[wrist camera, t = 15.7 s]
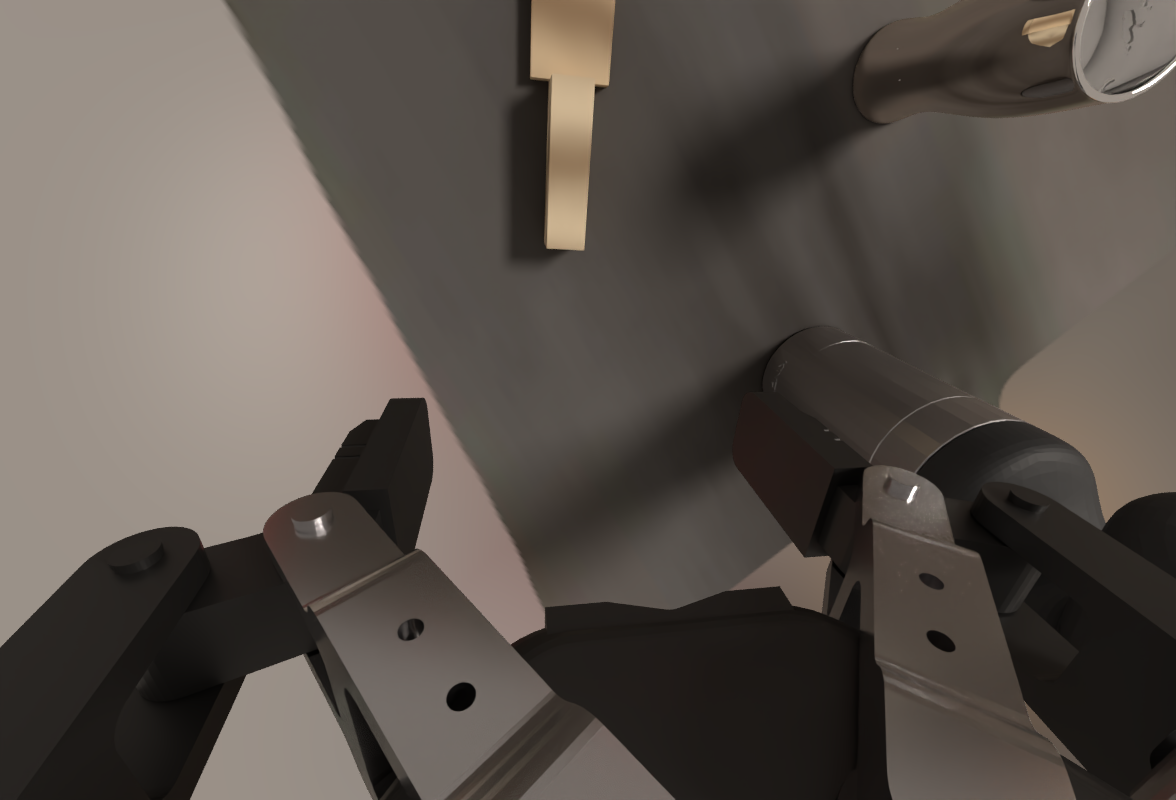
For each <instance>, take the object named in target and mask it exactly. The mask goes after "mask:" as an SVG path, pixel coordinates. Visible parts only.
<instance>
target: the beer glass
mask: <svg viewBox="0 0 1176 800" xmlns="http://www.w3.org/2000/svg"><path fill="white" fill-rule="evenodd" d="M1175 67H1176V0H960V1H958V2H957V3H955V4H953V5H952V6H950V7H948V8H946V9H945V10H943V11H941V12H939V13H936V14H934V15H931V16H926V17H915V18H906V19H901V20H897V21H894V22H892V23H890V24H888V25H886V26H885V27H883V28H882V29H881V30H879V31H878V32H877V33H876V34H875V35H874V36H873V37H872V38H871V39H870V41H869V42H868V43H867V45H866V46H865V48H864V49H863V51H862V53H861V55H860V57H859V59H858V62H857V65H856V68H855V72H854V78H853V95H854V100H855V103H856V106H857V108H858V109H859V111H860V113H861V114H862V115H863V116H864V117H865V118H866V119H868V120H870V121H872V122H875V123H880V124H886V123H892V122H896V121H899V120H901V119H904V118H907V117H909V116H912V115H914V114H917V113H922V112H937V113H946V114H953V115H961V116H969V117H981V118H1014V117H1028V116H1036V115H1043V114H1051V113H1057V112H1063V111H1068V110H1074V109H1079V108H1084V107H1089V106H1094V105H1100V104H1106V103H1117V102H1122V101H1125V100H1129V99H1131V98H1134V97H1136V96H1138V95H1140V94H1142V93H1144V92H1145V91H1147V90H1149V89H1150V88H1151V87H1153V86H1154V85H1156V84H1157V83H1158V82H1160V81H1161V80H1162V79H1163V78H1164V77H1166V76H1167V75H1168V74H1169V73H1170V72H1171V71H1172V70H1173V69H1174V68H1175Z"/></svg>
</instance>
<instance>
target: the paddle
mask: <svg viewBox="0 0 1176 800" xmlns="http://www.w3.org/2000/svg"><path fill="white" fill-rule="evenodd" d="M614 9H615V0H531V49H530V79H532V80H541V81H549V89H548V124H547V159H546V194H545V229H544V243H545V246H546V248H547V249H567V250H584V245H585V230H586V214H587V199H588V183H589V168H590V153H591V137H592V122H593V107H594V91H595V86H596V87H605V88H606V87H608V86H609V75H610V62H611V49H612V36H613V22H614Z"/></svg>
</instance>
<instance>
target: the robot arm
mask: <svg viewBox="0 0 1176 800" xmlns="http://www.w3.org/2000/svg"><path fill="white" fill-rule="evenodd" d="M762 386H763V392H748V393H746V394H745V396H744V397H743V400H742V404H741V408H740V413H739V417H738V422H737V427H736V431H735V436H734V440H733V446H732V453H733V459H734V462H735V465H736V467H737V468H738V470H739V471H740V472H741V474H742V475H743V476H744V478H745V479H746V480H747V482H748V483H749V484H750V486H751V487H752V488H753V490H754V491H755V492H756V494H757V495H758V496H759V498H760V499H761V500H762V502H763V503H764V504H765V506H766V507H767V508H768V510H769V511H770V512H771V514H772V515H773V516H774V518H775V519H776V520H777V522H778V523H779V524H780V526H781V527H782V528H783V530H784V531H785V532H786V534H787V535H788V536H789V538H790V539H791V540H792V542H793V543H794V544H795V546H796V547H797V548H798V549H799V551H800V552H801V553H802V555H803V556H804V557H816V556H830V558H831V561H830V564H829V566H828V569H827V572H826V581H825V590H824V599H823V608H822V613H819V612H816V611H813V610H810V609H805V608H801V607H797V606H792V605H791V604H790V602H789V600H788V599H787V597H786V596H785V594H784V593H783V591H782V589H781V588H780V586H778V587H767V588H757V589H745V590H734V591H725V592H722V593H719V594H716V595H714V596H711V597H708V598H705V599H703V600H700V601H697V602H694V603H691V604H689V605H686V606H683V607H680V608H677V609H673V610H665V609H657V608H649V607H641V606H634V605H626V604H618V603H611V602H600V603H589V604H578V605H567V606H555V607H545V628H544V629H541V630H538V631H535V632H533V633H531V634H529V635H527V636H525V637H523V638H521V639H519V640H517V641H516V642H514V643H512V644H511V645H510V644H509V643H508V642H507V641H506V640H505V638H503V636H502V635H500V633H499V632H498V631H497V630H496V629H495V628H494V627H493V626H492V624H491V623H490V622H489V621H488V620H487V619H486V618H485V617H484V616H483V615H482V614H481V613H480V611H479V610H478V609H477V608H476V607H475V606H474V605H473V604H472V603H471V602H470V601H469V600H468V599H467V597H465V595H464V594H463V593H462V592H461V591H460V590H459V589H458V588H457V587H456V586H455V585H454V584H453V582H452V581H451V580H450V579H449V578H448V577H447V576H446V575H445V574H444V573H443V572H442V571H441V569H440V568H439V567H438V566H437V565H436V564H435V563H434V562H433V561H432V560H431V559H430V558H429V557H428V555H426V554H425V553H424V552H423V551H422V550H420V549H415V546H416V541H417V538H418V534H419V529H420V526H421V521H422V518H423V514H424V510H425V506H426V502H427V498H428V494H429V490H430V486H431V482H432V475H433V453H432V444H431V437H430V427H429V418H428V410H427V404H426V401H425V399H424V398H400V399H399V398H398V399H390V400H389V402H388V404H387V406H386V408H385V410H384V412H383V414H382V416H381V417H380V419H379V420H378V419H377V420H366V421H364V422H363V423H361V424H360V425H358V426H357V427H356V428H354V429H353V430H351V431H350V432H349V434H348V435H347V437H346V439H345V440H344V442H343V443H342V448H339V450H338V452H337V453H336V455H335V459H333V460H332V462H331V463H330V465H329V467H328V468H327V470H326V472H325V473H324V475H323V476H322V478H321V480H320V481H319V483H318V485H317V486H316V488H315V490H314V491H313V493H312V494H311V495H307V496H304V497H301V498H298V499H296V500H294V501H291V502H290V503H288V504H286V505H284V506H283V507H281V508H280V509H278V510H277V511H276V512H275V513H273V514H272V515H271V516H270V518H269V519H268V520H267V522H266V523H265V525H264V528H263V533H260V534H257V535H254V536H250V537H246V538H243V539H238V540H234V541H230V542H227V543H223V544H219V545H215V546H211V547H207V548H204V547H203V545H202V542H201V540H200V538H199V536H198V534H197V533H196V532H195V531H193V530H191V529H188V528H184V527H165V528H157V529H153V530H149V531H145V532H141V533H138V534H135V535H132V536H130V537H127V538H124V539H122V540H120V541H118V542H116V543H114V544H112V545H110V546H108V547H106V548H104V549H103V550H102V551H100V552H98V553H96V554H95V555H94V556H92V557H91V558H89V559H88V560H87V561H86V562H85V563H84V564H83V565H82V566H81V567H80V568H78V570H77V571H76V572H75V573H74V574H73V575H72V576H71V577H70V578H69V579H68V580H67V581H66V582H65V583H64V584H63V585H62V586H61V587H60V588H59V589H58V590H57V591H56V592H55V593H54V594H53V595H52V596H51V597H50V598H49V599H48V600H47V601H46V602H45V603H44V604H43V605H42V606H41V607H40V608H39V609H38V610H37V611H36V612H35V613H34V614H33V615H32V616H31V617H30V618H29V619H28V620H27V621H26V622H25V623H24V624H23V625H22V626H21V627H20V628H19V629H18V630H17V631H16V632H15V633H14V634H13V635H12V636H11V637H10V638H9V639H8V640H7V641H6V642H5V643H4V644H3V645H2V646H1V648H0V800H190V798H191V796H192V794H193V791H194V789H195V787H196V785H197V783H198V780H199V778H200V776H201V774H202V771H203V769H204V766H205V765H206V763H207V760H208V758H209V756H210V754H211V752H212V750H213V747H214V745H215V743H216V741H217V738H218V736H219V734H220V732H221V730H222V727H223V725H224V723H225V721H226V719H227V716H228V714H229V712H230V710H231V708H232V705H233V703H234V701H235V699H236V697H237V694H238V692H239V690H240V688H241V686H242V683H243V681H244V679H245V677H246V675H247V674H250V673H252V672H255V671H258V670H261V669H263V668H266V667H269V666H272V665H274V664H277V663H280V662H283V661H285V660H288V659H291V658H294V657H296V656H299V655H302V654H304V657H305V659H306V661H307V663H308V665H309V667H310V669H311V671H312V673H313V675H314V677H315V679H316V680H317V683H318V684H319V686H320V688H321V690H322V692H323V694H324V696H325V698H326V700H327V702H328V704H329V706H330V708H331V710H332V712H333V714H334V716H335V718H336V720H337V722H338V724H339V726H340V728H341V730H342V732H343V734H344V736H345V738H346V741H347V743H348V745H349V747H350V750H351V752H352V755H353V757H354V760H355V762H356V764H357V767H358V770H359V772H360V774H361V776H362V779H363V781H364V783H365V785H366V787H367V789H368V791H369V793H370V795H371V798H372V799H373V800H1176V492H1168V493H1158V494H1152V495H1148V496H1145V497H1141V498H1138V499H1136V500H1133V501H1131V502H1129V503H1128V504H1126V505H1124V506H1123V507H1122V508H1120V509H1119V510H1117V511H1116V512H1115V513H1114V515H1112V517H1111V518H1110V519H1109V520H1108V522H1107V523H1105V520H1104V518H1103V515H1102V510H1101V506H1100V502H1099V496H1098V491H1097V486H1096V481H1095V477H1094V474H1093V471H1092V469H1091V467H1090V465H1089V463H1088V461H1087V460H1086V459H1085V457H1084V456H1083V455H1082V454H1081V453H1080V452H1079V451H1078V450H1076V449H1075V448H1074V447H1073V446H1071V445H1070V444H1068V443H1066V442H1065V441H1063V440H1061V439H1059V438H1057V437H1056V436H1054V435H1051V434H1049V433H1048V432H1046V431H1043V430H1042V429H1039V428H1037V427H1035V426H1033V425H1031V424H1029V423H1027V422H1025V421H1023V420H1021V419H1019V418H1017V417H1015V416H1013V415H1011V414H1009V413H1007V412H1005V411H1003V410H1001V409H999V408H997V407H995V406H993V405H991V404H989V403H987V402H985V401H982V400H980V399H978V398H976V397H974V396H972V395H970V394H968V393H966V392H964V391H962V390H960V389H958V388H956V387H954V386H952V385H950V384H948V383H946V382H944V381H942V380H940V379H938V378H936V377H934V376H932V375H930V374H928V373H926V372H924V371H922V370H920V369H918V368H916V367H914V366H912V365H910V364H908V363H906V362H904V361H902V360H900V359H898V358H896V357H894V356H892V355H890V354H887V353H885V352H883V351H881V350H879V349H877V348H875V347H873V346H872V345H870V344H868V343H866V342H864V341H862V340H860V339H858V338H856V337H854V336H852V335H850V334H847V333H845V332H843V331H841V330H839V329H837V328H833V327H829V326H818V327H813V328H808V329H806V330H803V331H801V332H799V333H797V334H795V335H794V336H792V337H790V338H789V339H788V340H786V341H785V342H784V343H783V344H782V345H781V346H780V347H779V348H778V349H777V350H776V352H775V353H774V354H773V355H772V357H771V359H770V361H769V362H768V364H767V367H766V369H765V372H764V376H763V384H762ZM1024 701H1025V702H1026V703H1027V704H1028V706H1029V707H1030V708H1031V709H1032V710H1033V711H1034V712H1035V713H1036V714H1037V715H1038V716H1039V718H1040V719H1041V720H1042V721H1043V722H1044V723H1045V724H1046V725H1047V727H1048V728H1049V729H1050V730H1051V731H1052V732H1053V733H1054V734H1055V735H1056V736H1057V738H1058V739H1059V740H1060V741H1061V742H1062V743H1063V744H1064V745H1065V746H1066V748H1067V749H1068V750H1069V751H1070V752H1071V753H1072V754H1073V755H1074V756H1075V757H1076V759H1077V760H1079V762H1080V763H1081V764H1082V765H1083V766H1084V767H1085V769H1086V770H1087V771H1086V770H1085V769H1083V768H1081V767H1080V766H1078V765H1077V764H1075V763H1073V762H1072V761H1070V760H1068V759H1067V758H1065V757H1064V756H1062V755H1060V754H1059V752H1058V750H1057V749H1056V748H1055V746H1054V745H1053V744H1052V743H1051V742H1050V741H1049V740H1048V739H1047V738H1045V737H1043V736H1042V735H1040V734H1039V733H1038V732H1037V731H1036V730H1035V729H1034V727H1033V726H1032V724H1031V721H1030V719H1029V716H1028V713H1027V709H1026V706H1025V702H1024Z"/></svg>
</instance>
